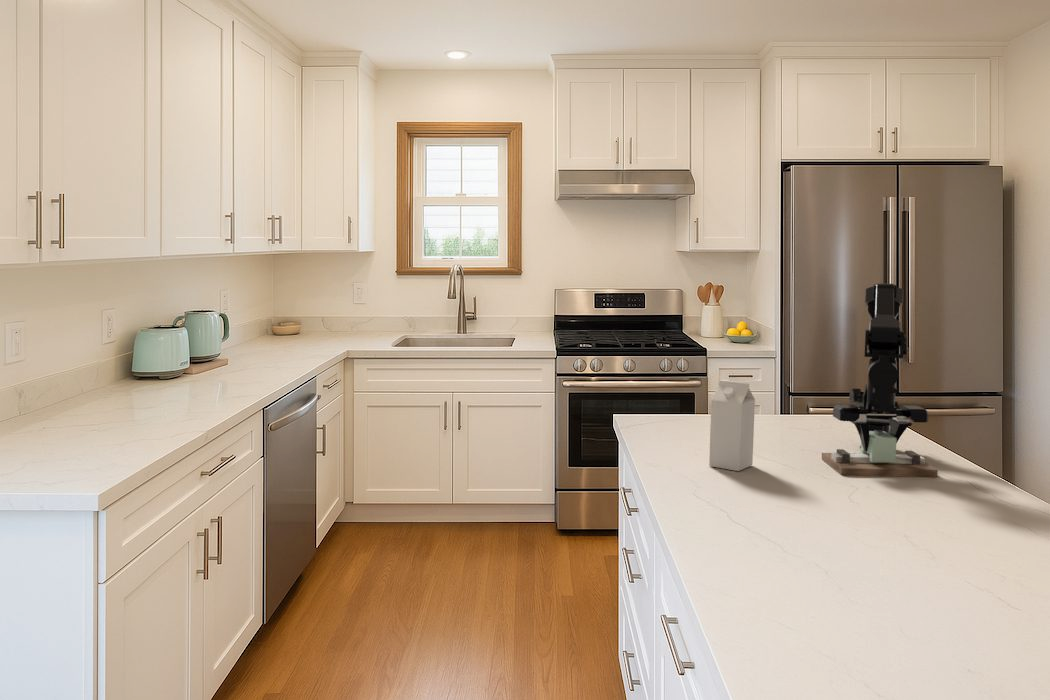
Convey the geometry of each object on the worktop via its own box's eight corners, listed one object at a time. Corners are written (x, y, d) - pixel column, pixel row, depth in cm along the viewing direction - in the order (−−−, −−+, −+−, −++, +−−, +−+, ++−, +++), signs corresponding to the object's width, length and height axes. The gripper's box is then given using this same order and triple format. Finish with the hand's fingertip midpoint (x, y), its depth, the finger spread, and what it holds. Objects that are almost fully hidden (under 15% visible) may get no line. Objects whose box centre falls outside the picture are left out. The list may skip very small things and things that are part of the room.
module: (883, 454, 182) (884, 427, 181) (895, 462, 175) (896, 434, 174) (860, 454, 182) (861, 427, 182) (871, 462, 175) (873, 434, 175)
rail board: (910, 460, 185) (911, 445, 185) (937, 477, 171) (938, 461, 171) (821, 459, 187) (822, 444, 186) (841, 475, 173) (841, 459, 172)
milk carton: (723, 460, 185) (725, 378, 183) (752, 465, 180) (755, 381, 178) (708, 466, 179) (711, 382, 177) (739, 472, 175) (742, 385, 173)
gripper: (910, 377, 184) (906, 444, 186) (826, 376, 185) (823, 442, 187) (931, 384, 173) (927, 455, 175) (842, 383, 174) (839, 454, 176)
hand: (877, 451), depth 179 cm, fingers closed on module, 5 cm apart
